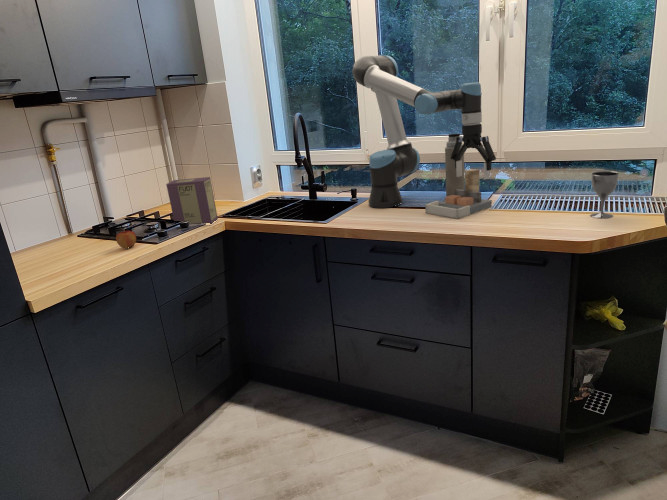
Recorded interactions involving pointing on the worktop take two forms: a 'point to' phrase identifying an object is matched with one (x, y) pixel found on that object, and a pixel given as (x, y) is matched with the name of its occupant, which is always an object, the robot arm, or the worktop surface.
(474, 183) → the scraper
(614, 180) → the wine glass
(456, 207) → the board
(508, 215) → the worktop surface
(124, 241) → the apple
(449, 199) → the tile
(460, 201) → the tile
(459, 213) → the tray
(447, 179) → the thermos bottle
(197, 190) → the box
